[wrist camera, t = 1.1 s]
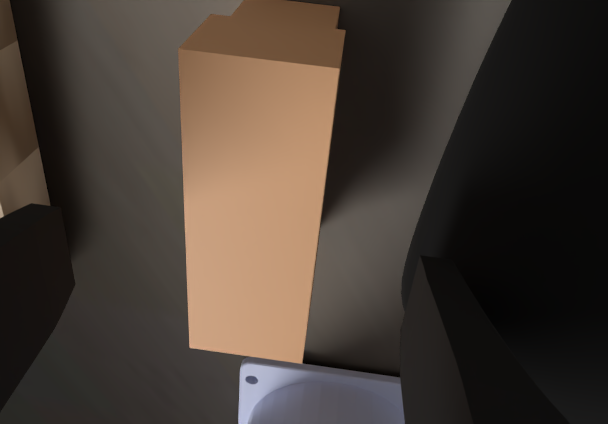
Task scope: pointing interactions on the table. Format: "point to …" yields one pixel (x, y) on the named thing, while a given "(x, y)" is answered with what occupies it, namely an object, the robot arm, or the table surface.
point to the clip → (256, 171)
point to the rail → (17, 127)
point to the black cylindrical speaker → (534, 198)
